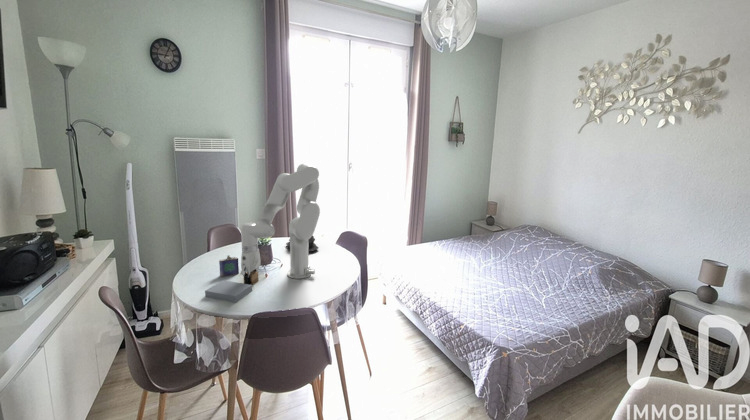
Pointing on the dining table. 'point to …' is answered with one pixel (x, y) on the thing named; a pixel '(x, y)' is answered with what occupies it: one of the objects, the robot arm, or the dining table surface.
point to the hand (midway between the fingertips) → (251, 281)
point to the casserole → (311, 244)
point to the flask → (229, 266)
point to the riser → (228, 291)
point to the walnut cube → (253, 277)
